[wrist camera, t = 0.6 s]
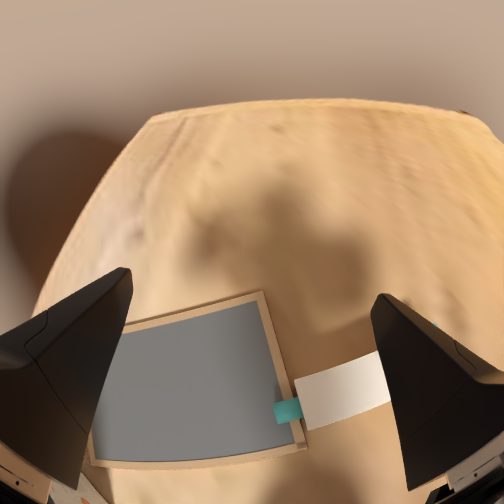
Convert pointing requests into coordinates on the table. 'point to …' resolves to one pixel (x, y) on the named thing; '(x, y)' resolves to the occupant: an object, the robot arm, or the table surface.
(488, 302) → the table surface
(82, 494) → the small box
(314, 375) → the marker
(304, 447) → the slate board
